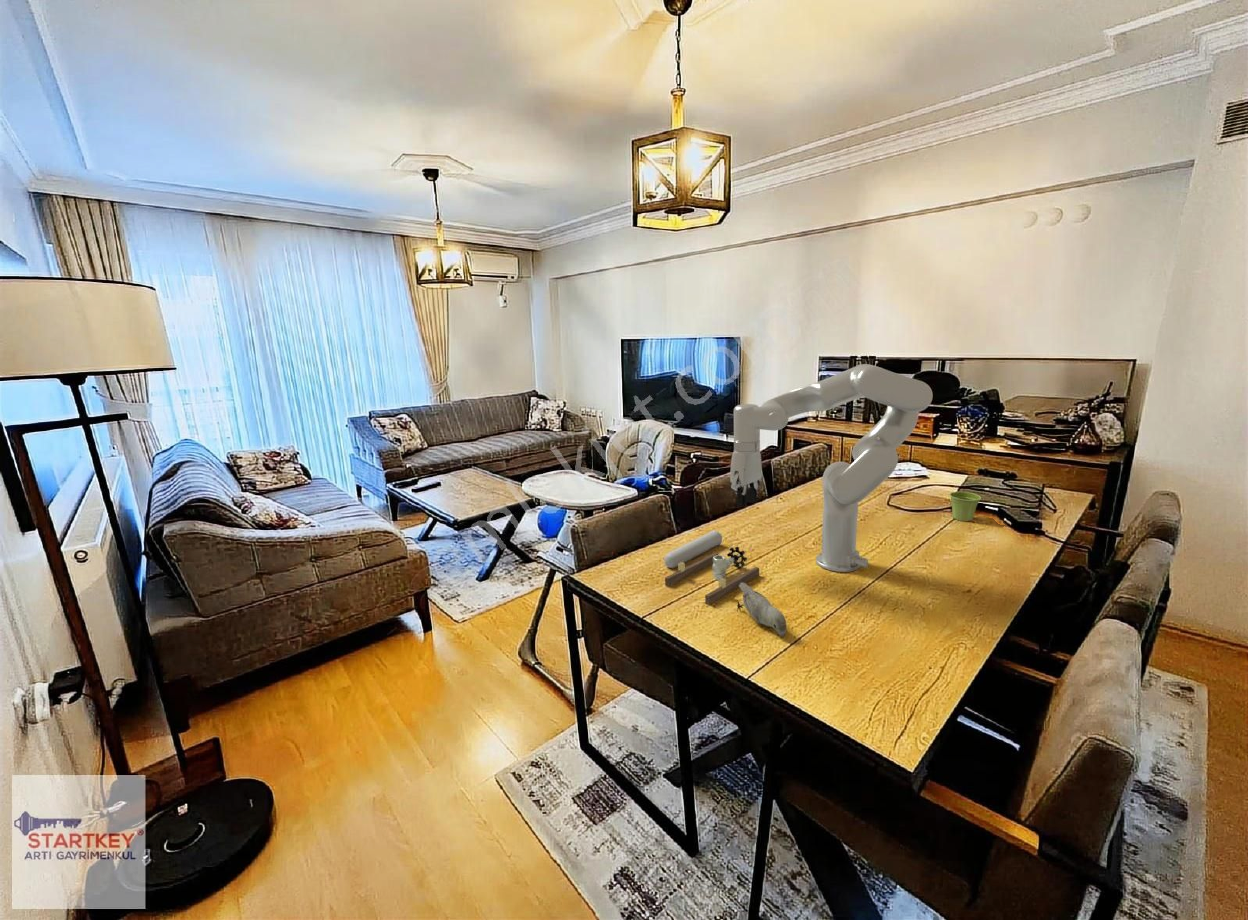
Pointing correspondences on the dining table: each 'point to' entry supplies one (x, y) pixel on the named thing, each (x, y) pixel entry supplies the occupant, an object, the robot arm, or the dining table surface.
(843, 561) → the robot arm
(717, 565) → the valve
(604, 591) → the dining table surface
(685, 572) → the guide track
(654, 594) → the dining table surface
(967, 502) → the plant pot
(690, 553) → the tube
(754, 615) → the decorative bird
